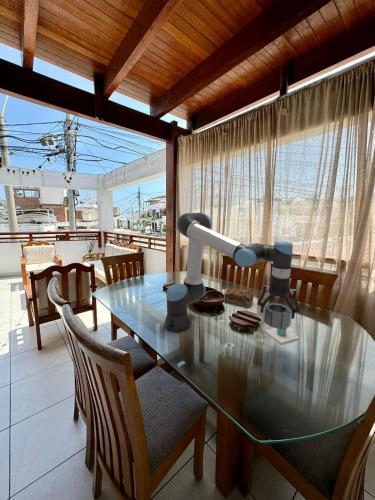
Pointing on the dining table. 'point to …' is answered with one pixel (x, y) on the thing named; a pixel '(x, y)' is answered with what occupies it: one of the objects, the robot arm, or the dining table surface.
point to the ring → (277, 315)
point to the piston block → (281, 335)
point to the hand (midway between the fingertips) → (276, 321)
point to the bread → (239, 297)
